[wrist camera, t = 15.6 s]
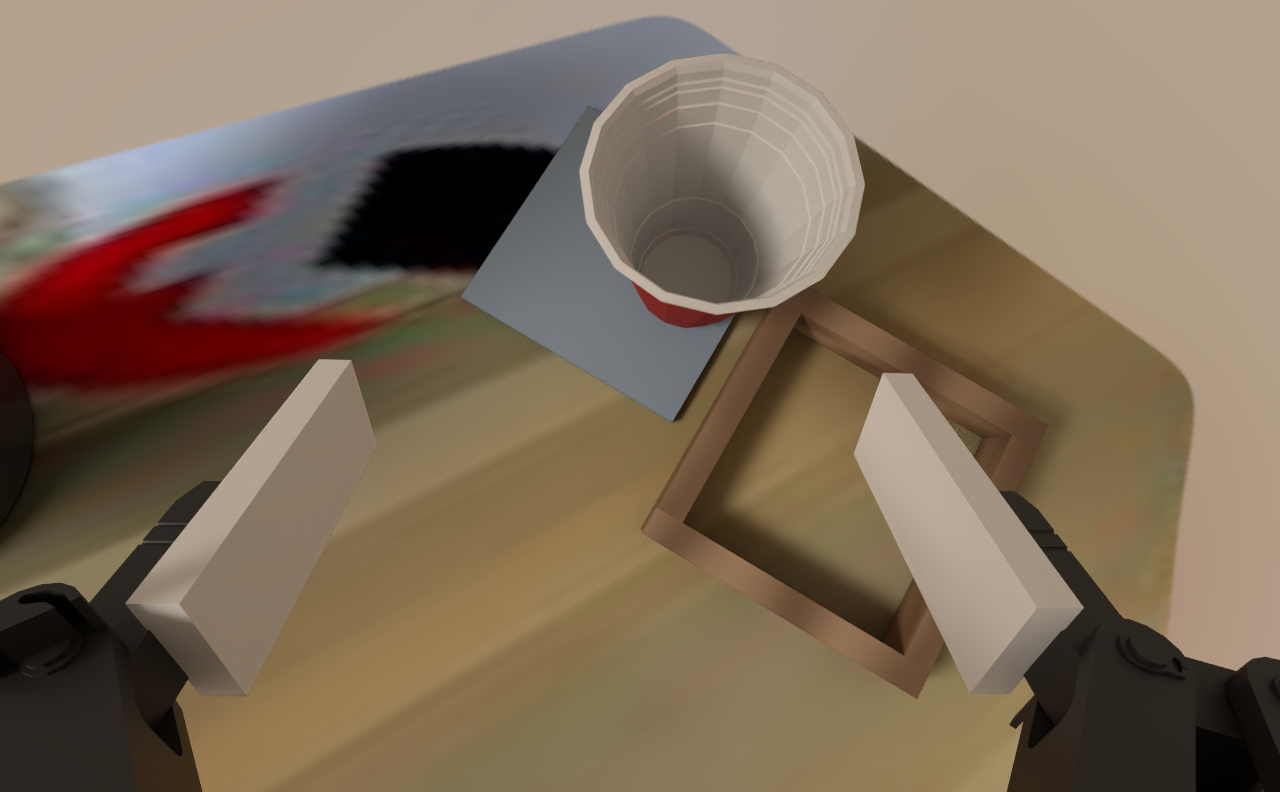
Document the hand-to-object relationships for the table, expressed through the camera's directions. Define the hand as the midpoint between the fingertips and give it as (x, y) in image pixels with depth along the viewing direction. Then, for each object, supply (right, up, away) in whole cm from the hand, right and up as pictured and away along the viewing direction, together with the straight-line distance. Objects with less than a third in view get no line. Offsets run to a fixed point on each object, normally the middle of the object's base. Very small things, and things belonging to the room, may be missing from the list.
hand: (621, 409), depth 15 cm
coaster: (0, +8, +19) cm, 21 cm away
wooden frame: (+11, -4, +18) cm, 22 cm away
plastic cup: (+3, +7, +19) cm, 20 cm away
